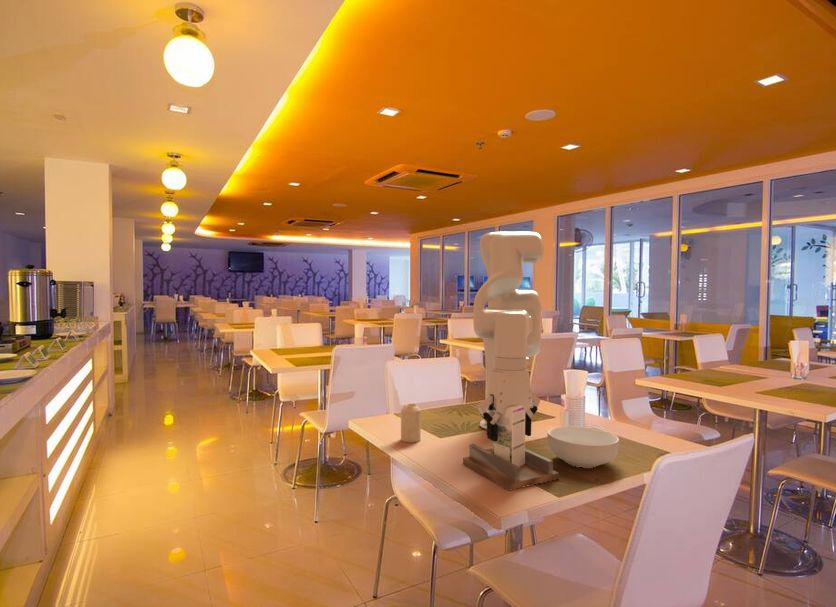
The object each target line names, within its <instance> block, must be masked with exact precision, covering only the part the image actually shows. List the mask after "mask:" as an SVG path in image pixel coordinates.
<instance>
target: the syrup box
mask: <svg viewBox="0 0 836 607" xmlns="http://www.w3.org/2000/svg"><path fill="white" fill-rule="evenodd" d="M492 406H493V405H492ZM495 410H496V408H495ZM492 417H493V416H492ZM496 424H497V425H498V440H497V441H495V442H494V441H492V440H491V441H492V445H491V448H492V450H491V451H492V452H491V453H493V454H495V455H497V456H499V457H501V458H502V459H504V460H506V461H508V462H510V463H512V464H514V465H516V466H518V467H520V466H522V465H524V464H525V449H526V435H525V411H524V408H523V406H521V405H516V406H511V407H508V408H506V414H504V415H500V416H499V418H498V420H497V421H496Z"/></svg>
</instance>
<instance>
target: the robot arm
mask: <svg viewBox="0 0 836 607" xmlns="http://www.w3.org/2000/svg"><path fill="white" fill-rule="evenodd" d="M479 240H480V241H479V249H480V255H481V260H482V261H483V265H484V267H485V269H486V273H487V280H486V281H485V282H484V283H483V284H482V285H481V287H480V288H479V289H478V291H477V293H476V294H475V297H474V300H473V301H474V302H473V315H472V316H473V319H472V320H473V323H472V324H473V331H474V333H475V335H476V336H477V337H478V338H479V339H482V340H483V341H482V343H483V350H484V358H485V396H484V398H485V399H484V400H482V401H481V402H479V403H478V404H477V410H478V411H479V413H480V417H482V418H483V419H481V421H479V425H480V427H481V428H482V429H484V430H486V436H487V439H488V440H490V441H494V442H495V441H497V440H498V425H497V424H496V421H497V420H498V418H499V416H500V415H504V414H506V408H508V407H511V406H516V405H521V406H523V408H524V411H525V436H527V437H531V436H532V419H534V418H535V416H534V415H536V413H537V411H538V407H539V404H540V402H541V398H539V397H537V396H536V395H534V394H532V386H531V385H532V383H531V378H530V372H529V369H527V366H528V364H530V362H531V360H530V358H529V357H535V356H537V355H539V353H540V352H541V348H542V305H541V298H540V295H539V294H538V292H537V291H535V290H533V289H518V288H519V287H520V286H521V285H522V284H523V281H524V275H523V274H524V272H523V264H538V263H540V262H541V261H542V259H543V256H544V242H543V238H542V236H541V235H540V234H539V232H536V231H492V232H486V233H485V234H483V235H482V236H480V239H479ZM486 304H487V307H488V308H485V306H486ZM492 405H493V406H492ZM495 408H496V410H495ZM492 416H493V417H492Z"/></svg>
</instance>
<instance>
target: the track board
mask: <svg viewBox="0 0 836 607" xmlns="http://www.w3.org/2000/svg"><path fill="white" fill-rule="evenodd" d="M468 449H469V453H468V454H469V456H465V457H463V459H462V464H463V465H464V466H465V467H468V468H470V470H472V471H475V472H476V473H478V474H480V475H481V476H483V477H485V478H487V479H489V480H490V481H491V482H493V483H495V484H496V483H497V485H498V486H500V487H501V486H502V487H501V488H503V487H504V488H503V489H505V488H506V489H508V490H509V491H511V490H510V489H513V490H515V489H514V488H518V489H520V488H519V487H522V488H524V487H523V486H527V485H532V484H536V485H539V484H538V483H541V484H544V483H543V482H545V483H548V482H547V481H550V482H553V481H552V480H554V481H557V480H556V479H559V480H560V472H558V471H556V470H554V461H553V459H550V458H548V457H546V456H543V455H541V454H538V453H536V452H534V451H532V450H530V449H527V448H525V464H524V465H522V466H520V467H518V466H516V465H514V464H512V463H510V462H508V461H506V460H504V459H502V458H501V457H499V456H497V455H495V454H493V453H492V452H490V451H489V450H488V449H487V450H486V449H484V448H483V447H480V446H479V445H477V444H474V443H471V444H469V448H468ZM532 486H533V485H532ZM527 487H528V486H527ZM506 489H505V490H506ZM508 490H507V491H508Z"/></svg>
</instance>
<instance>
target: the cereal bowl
mask: <svg viewBox="0 0 836 607" xmlns="http://www.w3.org/2000/svg"><path fill="white" fill-rule="evenodd" d="M547 444H548V447H549V449H550V452H551V453H552V454H553V455H555V457H557V458H558V459H561V460H563V461H564V462H565V463H566V464H567V463H568V464H567V465H569V464H570V465H569V466H571V465H572V466H571V467H575V466H576V468H579V467H583V468H582V469H593V467H594V468H597V467H598V466H601V465H605V464H607V463H610V462H611V461H613V460H614V459H615V458H616V456H617V454H618V453H619V448H620V439H619V437H618V436H617V435H616V434H614V433H612V432H609V431H607V430H603V429H599V428H593V427H588V426H587V427H585V426H558V427H552V428H549V430H548V431H547ZM596 466H597V467H596Z"/></svg>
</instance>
